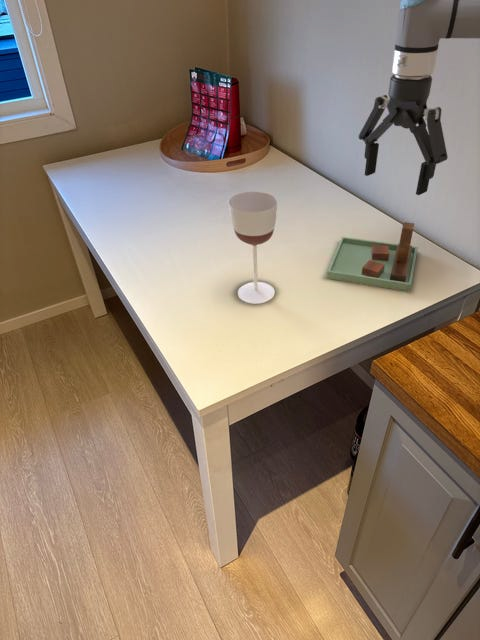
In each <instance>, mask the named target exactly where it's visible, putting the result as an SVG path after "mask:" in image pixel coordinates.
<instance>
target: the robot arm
mask: <svg viewBox="0 0 480 640" xmlns="http://www.w3.org/2000/svg"><path fill="white" fill-rule="evenodd" d="M397 19H398V20H397V27H396V35H395V42H394V43H395V44H394V51H393V58H392V66H391V72H392V74H393V75H391V77H390V80H389V86H388V93H387V94H388V95H387V94H383V95H380V96H377V97H375V99H374V104H373V108H372V110H371V112H370V113H369V115H368V116H367V119H366V121H365V122H364V125H363V127H362V128H361V130H360V133H359V134H358V139H359V140H361V141H364V144H365V145H364V146H365V147H364V159H365V168H364V176H366V177H368V176H371V175H373V174H376V171H377V162H378V154H379V147H380V143H379V142H378V141H379V139H380V138H381V137H382V136H383V135H384V134H385V133H386V132H387V131H388V130H389V129H390V128H391V127H392V126H395V127H401V128H403V129H405V130H407V129H408V130H409V132H410V133H411V134H413V136H414V139H415V140H416V142H417V143H416V144H417V145H418V148H419V150H420V152H421V154H422V157H423V159H424V161H423V162H422V163H421V165H420V170H419V175H418V180H417V186H416V190H415V195H416V196H420V195H423V194H425V193H427V192H428V189H429V185H430V184H429V183H430V180H431V179H433V178H434V176H435V171H436V167H437V165H438V164H441V163H442V162H444V161H447V160H448V153H447V147H446V142H445V135H444V131H443V126H442V122H441V118H442V108H441V107H440V106H436V107H434V108H432V107H428V104H427V103H428V102H427V101H428V99H429V97H430V93H431V88H432V82H433V77H432V74H433V73H434V72H435V68H436V61H437V55H438V50H439V43H440V40H441V39H447V40H448V39H480V0H400V4H399V9H398V18H397ZM386 109H387V112H388V114H387V115H386V116H385V117H384V118H383V119H382V122H380V123H379V121H380V119H381V117H382V116H383V114H384V113H385V110H386ZM424 117H425V118H424ZM378 123H379V124H378ZM377 124H378V126H377ZM376 126H377V127H376Z"/></svg>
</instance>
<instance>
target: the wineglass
mask: <svg viewBox="0 0 480 640" xmlns="http://www.w3.org/2000/svg"><path fill="white" fill-rule="evenodd" d="M228 208H229V214H230V219H231V225H232V227H233V231H234V233H235V236H236V237H237V238H238V239H239V240H240V241H241V242H243V243H245V244H247V245H250V246H252V265H253V266H252V267H253V281H251V282H248V283H245V284H243V285H241V287H239V289H238V291H237V296H238V298H239V299H240V300H241V301H243V302H245V303H247V304H255V305H257V304H263V303H266V302H268V301H270V300H272V299H273V298H274V296H275V294H276V293H275V289H274V287H273V286H272V285H270V284H268V283H266V282H262V281H259V280H258V279H259V277H258V250H257V248H258V247H257V246H258V245H262V244H264V243H266V242H269V240H270V239H272V237H273V234H274V231H275V226H276V222H277V212H278V200H277V198H276V197H275V196H274V195H272V194H269V193H267V192H262V191H246V192H241V193H237V194H235V195H233V196H232V197H230V199H229V200H228Z"/></svg>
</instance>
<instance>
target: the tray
mask: <svg viewBox="0 0 480 640" xmlns="http://www.w3.org/2000/svg"><path fill="white" fill-rule="evenodd" d="M398 244H399V243H398ZM398 244H397V243H391V242H384V241H376V240H369V239H363V238H362V239H361V238H355V237H347V236H341V237H340V239H339V243H338V245H337V247H336V250H335V252H334V254H333V257H332V259H331V261H330V264H329V266H328V269H327V272H326V279H329V280H335V281H342V282H347V283H354V284H360V285H367V286H372V287H378V288H384V289H392V290H397V291H404V292H409V293H410V291H411V287H412V281H413V276H414V270H415V265H416V259H417V254H418V249H419V247H418V246H414V245H411V246H412V250H411V256H410V261H409V266H408V271H407V276H406V281H405V282H400V281H394V280H390V275H391V271H392V266H393V262H394V258H395V254H396V250H397V246H398ZM372 245H381V246H389V259H388V261H382V260H372V256H371V250H372ZM369 260H371V261H375V262H378V263H382V264H385V267H384V272H383V273H382V274H381V275H380V276H379V278H375V277H368V276H365V275H362V267H363V266H364V265H365V264H366V263H367V262H368V261H369Z"/></svg>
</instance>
